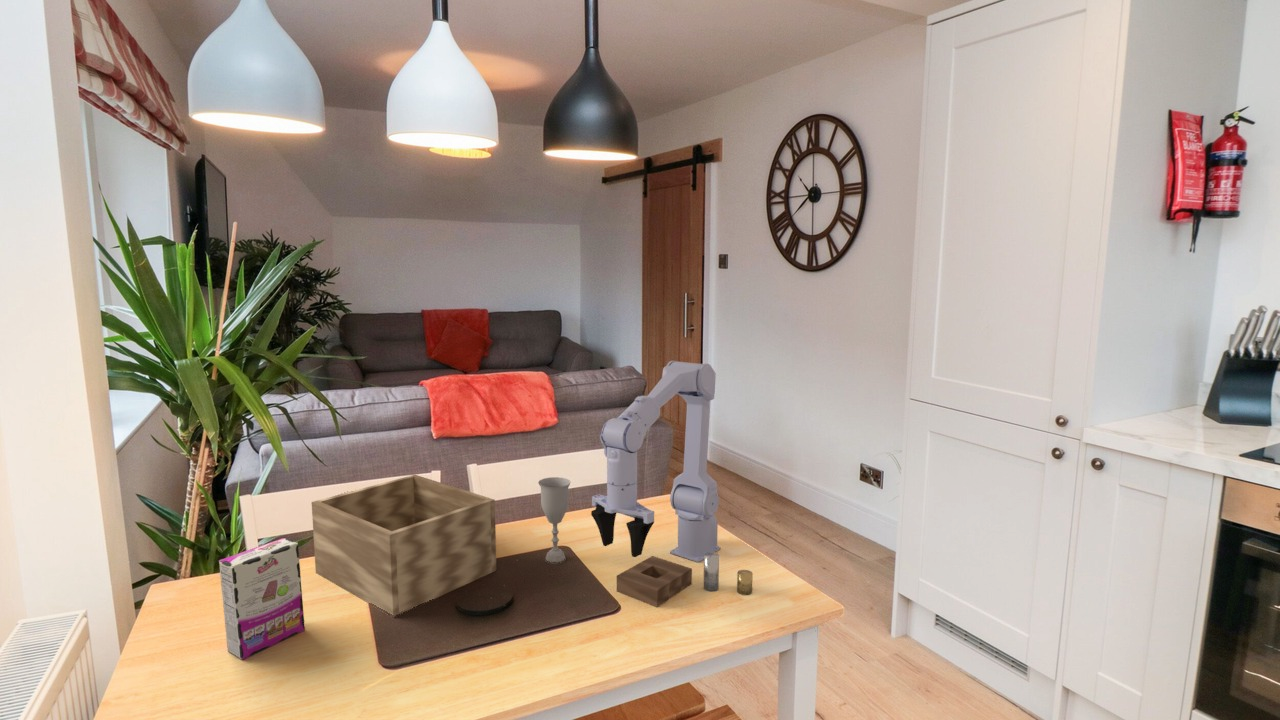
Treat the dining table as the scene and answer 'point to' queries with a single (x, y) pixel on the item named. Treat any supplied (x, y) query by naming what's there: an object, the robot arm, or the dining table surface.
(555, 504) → the chalice
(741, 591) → the brass pin
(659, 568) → the walnut block
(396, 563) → the wooden crate
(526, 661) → the dining table surface
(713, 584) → the steel pin
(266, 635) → the candy bar box
